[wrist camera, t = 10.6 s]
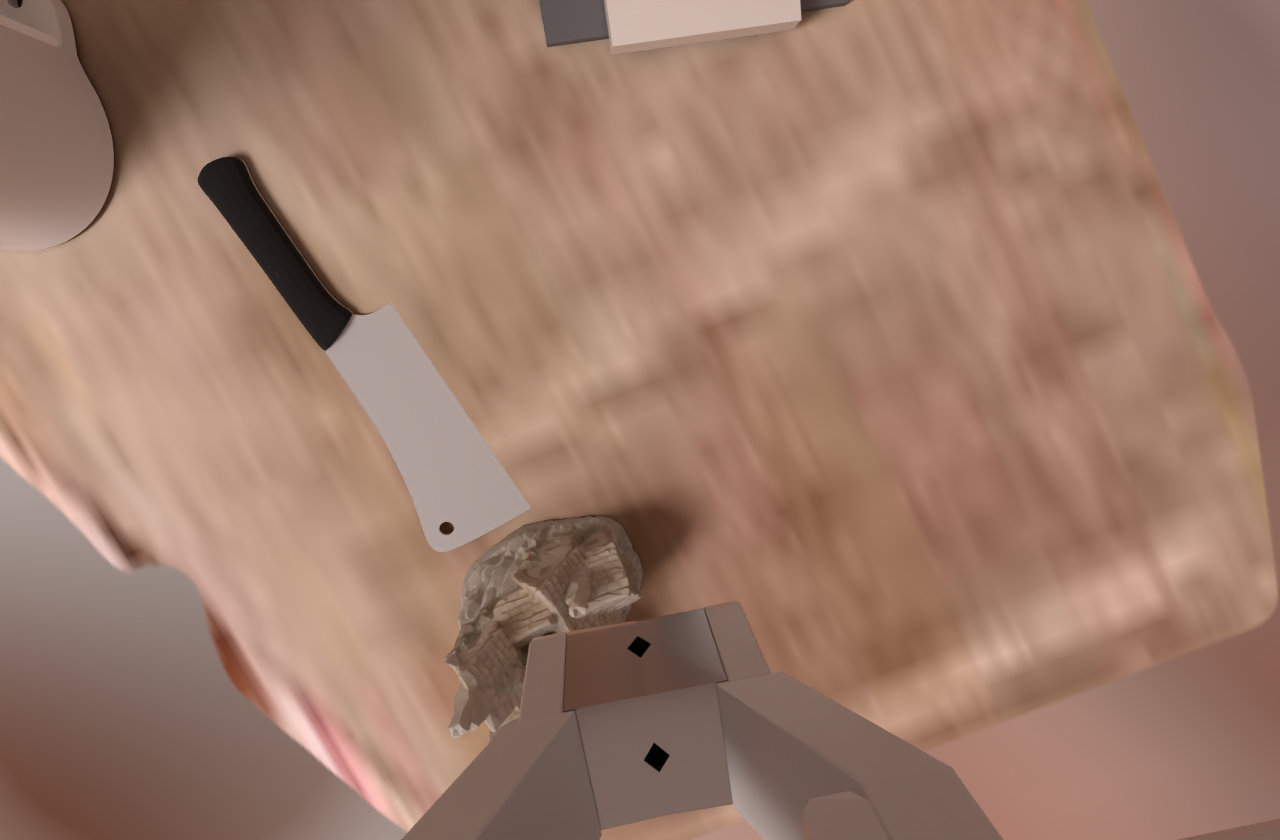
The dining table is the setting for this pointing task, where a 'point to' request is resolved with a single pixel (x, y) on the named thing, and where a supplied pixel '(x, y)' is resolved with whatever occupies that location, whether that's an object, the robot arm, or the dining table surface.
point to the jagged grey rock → (534, 607)
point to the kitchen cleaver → (380, 377)
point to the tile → (693, 21)
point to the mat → (581, 18)
